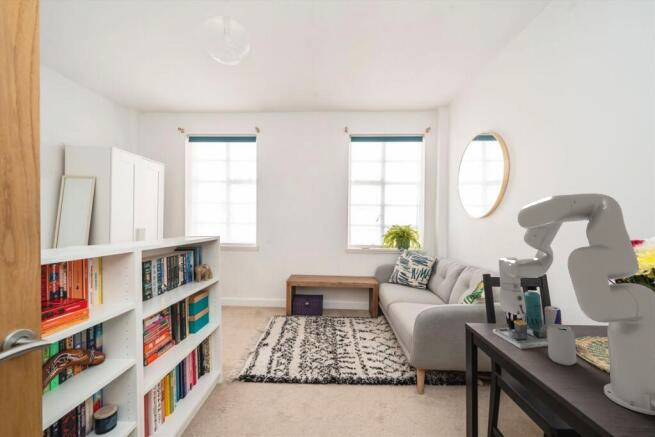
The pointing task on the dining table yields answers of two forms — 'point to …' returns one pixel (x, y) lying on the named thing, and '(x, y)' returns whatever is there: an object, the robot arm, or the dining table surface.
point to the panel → (523, 337)
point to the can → (561, 344)
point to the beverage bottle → (533, 307)
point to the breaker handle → (520, 326)
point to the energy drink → (552, 316)
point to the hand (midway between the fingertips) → (513, 328)
